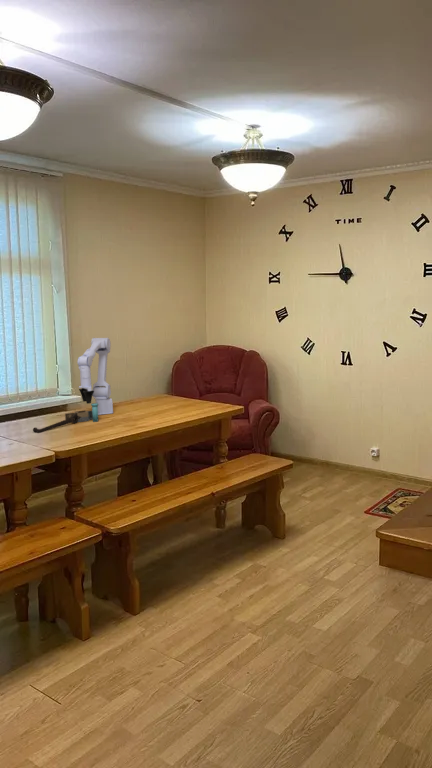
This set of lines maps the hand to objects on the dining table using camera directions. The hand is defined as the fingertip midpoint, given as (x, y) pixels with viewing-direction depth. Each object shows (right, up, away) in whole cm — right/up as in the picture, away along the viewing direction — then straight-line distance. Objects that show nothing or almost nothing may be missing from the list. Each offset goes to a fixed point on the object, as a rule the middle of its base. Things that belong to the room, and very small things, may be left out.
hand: (87, 402), depth 343 cm
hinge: (-3, -10, +2) cm, 11 cm away
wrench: (-13, -13, -12) cm, 22 cm away
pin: (+5, -10, 0) cm, 11 cm away
